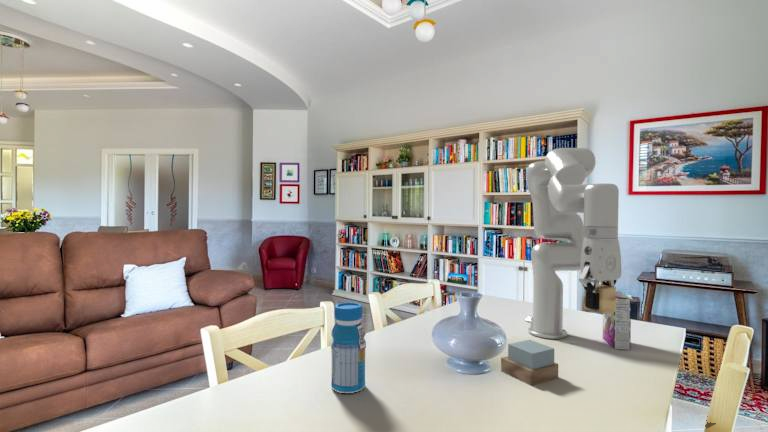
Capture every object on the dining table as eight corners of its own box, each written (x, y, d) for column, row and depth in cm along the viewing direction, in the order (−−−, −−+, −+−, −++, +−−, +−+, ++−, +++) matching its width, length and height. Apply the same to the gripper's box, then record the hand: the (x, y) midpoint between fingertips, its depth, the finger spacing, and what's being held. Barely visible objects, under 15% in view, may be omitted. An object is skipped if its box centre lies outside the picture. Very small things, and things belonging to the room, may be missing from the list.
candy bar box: (601, 338, 135) (602, 289, 135) (617, 339, 134) (618, 290, 134) (613, 350, 124) (614, 297, 124) (631, 351, 123) (632, 297, 123)
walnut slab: (501, 372, 108) (501, 358, 108) (527, 365, 113) (527, 351, 113) (531, 387, 99) (531, 371, 99) (558, 379, 104) (558, 363, 104)
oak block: (583, 309, 101) (584, 285, 101) (596, 307, 103) (596, 283, 103) (602, 314, 96) (603, 289, 96) (615, 311, 99) (615, 287, 99)
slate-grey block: (508, 359, 107) (508, 344, 107) (529, 354, 111) (529, 339, 111) (532, 369, 100) (532, 353, 100) (554, 363, 104) (554, 348, 104)
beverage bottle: (338, 398, 92) (338, 311, 92) (325, 384, 99) (326, 303, 99) (371, 390, 96) (371, 307, 95) (357, 377, 103) (357, 299, 103)
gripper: (593, 235, 92) (592, 315, 92) (635, 233, 100) (634, 306, 101) (564, 233, 99) (563, 308, 99) (606, 232, 107) (605, 300, 107)
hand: (599, 306), depth 100 cm, fingers closed on oak block, 4 cm apart
